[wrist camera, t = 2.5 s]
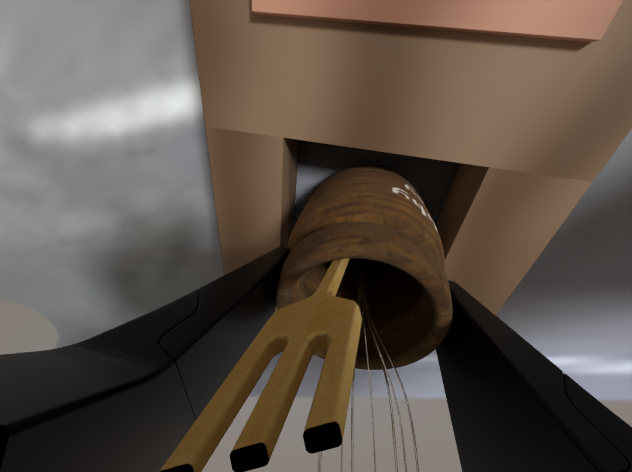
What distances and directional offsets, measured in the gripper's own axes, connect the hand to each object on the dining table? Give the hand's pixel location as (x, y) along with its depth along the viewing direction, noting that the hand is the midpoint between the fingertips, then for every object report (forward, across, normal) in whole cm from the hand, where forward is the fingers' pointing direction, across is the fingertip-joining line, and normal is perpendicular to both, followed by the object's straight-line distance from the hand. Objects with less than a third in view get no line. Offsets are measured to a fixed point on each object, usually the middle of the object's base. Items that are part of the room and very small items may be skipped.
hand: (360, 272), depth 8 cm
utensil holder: (+5, 0, 0) cm, 5 cm away
